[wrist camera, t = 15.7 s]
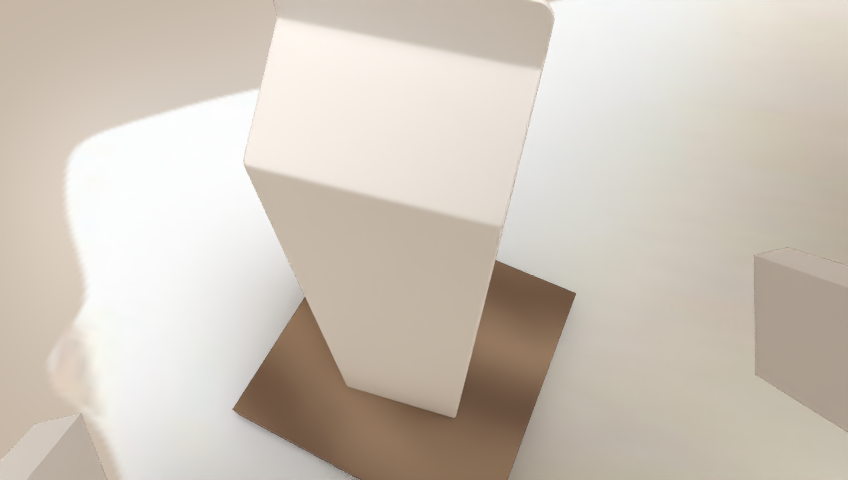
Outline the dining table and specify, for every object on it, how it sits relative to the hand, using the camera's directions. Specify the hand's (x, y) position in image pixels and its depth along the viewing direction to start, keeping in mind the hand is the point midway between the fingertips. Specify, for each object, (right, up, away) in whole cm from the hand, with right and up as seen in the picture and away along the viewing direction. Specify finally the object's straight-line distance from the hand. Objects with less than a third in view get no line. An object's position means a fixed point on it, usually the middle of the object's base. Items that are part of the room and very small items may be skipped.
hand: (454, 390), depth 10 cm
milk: (-1, -3, +19) cm, 19 cm away
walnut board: (-1, -4, +20) cm, 20 cm away
